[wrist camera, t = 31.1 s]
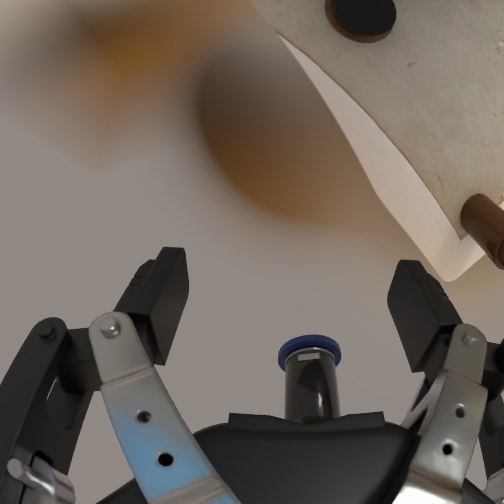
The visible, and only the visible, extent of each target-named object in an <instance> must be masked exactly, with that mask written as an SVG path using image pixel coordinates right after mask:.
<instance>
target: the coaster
mask: <svg viewBox="0 0 504 504" xmlns="http://www.w3.org/2000/svg"><path fill="white" fill-rule="evenodd" d="M331 5H332V0H326V2H325V11H326V15H327V18H328V20H329V22H330V23H331V25H332V26H333V27H334V29H335V30H336V31H338V32H339V33H340V34H341V35H343V36H344V37H346V38H348V39H350V40H353V41H356V42H361V43H372V42H376V41H379V40H381V39H383V38H385V37H386V36H387V35H388V34H389V33H390V31H391V29H392V28H391V29H390V30H389V31H387V32H386V33H384V34H381V35H376V36H371V37H362V36H357V35H354V34H352V33H349V32H348V31H346V30H345V29H343V28H342V27H341V26H340V25H339V24H338V23H337V21H336V20H335V18H334V16H333V13H332V8H331Z"/></svg>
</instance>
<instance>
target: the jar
mask: <svg viewBox="0 0 504 504" xmlns="http://www.w3.org/2000/svg"><path fill="white" fill-rule="evenodd" d="M461 224H462V227H463V228H464V229H465V230H466V232H467V233H468V234H469V235H470V236H471V237H472V238H473V239H474V240H475V241H476V242H477V244H478V245H479V246H480V247H481V248H482V249H483V250H484V252H485V253H486V254H487V255H488V256H489V258H490V259H491V260H492V261H493V262H494V263H495V265H496V266H497V267H498V268H499V269H502V270H504V210H503V209H502V208H500V207H499V206H498V205H497V204H496V203H494V202H493V201H492V200H491V199H489V198H488V197H487V196H485V195H483V194H476V195H474V196H472V197H471V198H469V199H468V200H467V202H466V203H465V205H464V206H463V209H462V212H461Z"/></svg>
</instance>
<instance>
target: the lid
mask: <svg viewBox="0 0 504 504" xmlns="http://www.w3.org/2000/svg"><path fill="white" fill-rule="evenodd" d="M331 8H332V13H333V16H334V18H335V20H336V21H337V23H338V24H339V25H340V26H341V27H342V28H343V29H345V30H346V31H348V32H349V33H352V34H354V35H357V36H362V37H371V36H376V35H381V34H384V33H386V32H387V31H389V30H390V29H391V28H392V27H393V25H394V23H395V20H396V8H395V5H394V2H393V1H392V0H332V5H331Z"/></svg>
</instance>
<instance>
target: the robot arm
mask: <svg viewBox="0 0 504 504" xmlns="http://www.w3.org/2000/svg"><path fill="white" fill-rule="evenodd" d="M188 294H189V279H188V271H187V263H186V254H185V250H184V248H176V247H163V248H162V250H161V251H160V253H159V255H158V256H157V258H156V260H151V259H150V260H148V261H147V262H146V263H144V264H143V265H141V266H140V267H139V269H138V270H137V272H136V273H135V275H134V278H132V280H131V282H130V283H129V286H128V287H127V288H126V290H125V292H124V293H123V295H122V297H121V298H120V300H119V302H118V303H117V305H116V307H115V309H114V310H113V312H108V313H104V314H102V315H101V316H99V317H97V318H96V319H95V320H94V321H93V322H92V323H91V325H90V327H89V328H81V329H70V330H68V329H67V327H66V325H65V323H64V321H63V320H61V319H59V318H55V317H52V318H46V319H44V320H42V321H40V322H39V323H37V324H36V325H35V326H34V327H33V329H32V330H31V332H30V333H29V335H28V337H27V339H26V340H25V341H24V343H23V345H22V347H21V348H20V350H19V352H18V353H17V355H16V357H15V359H14V360H13V362H12V364H11V366H10V368H9V370H8V372H7V373H6V375H5V377H4V379H3V381H2V383H1V385H0V504H75V501H76V498H75V492H74V487H73V485H72V483H71V481H70V480H69V478H68V477H67V475H68V471H69V468H70V464H71V460H72V457H73V453H74V450H75V447H76V443H77V440H78V436H79V434H80V431H81V427H82V424H83V421H84V418H85V415H86V412H87V410H88V407H89V404H90V401H91V398H92V395H93V392H94V391H101V393H102V397H103V400H104V403H105V406H106V408H107V412H108V414H109V417H110V420H111V423H112V425H113V428H114V430H115V433H116V435H117V438H118V440H119V443H120V445H121V448H122V450H123V453H124V455H125V457H126V459H127V462H128V464H129V466H130V468H131V470H132V472H133V474H134V478H133V479H132V480H130V481H129V482H127V483H126V484H125V485H123V486H122V487H120V488H119V489H117V490H116V491H114V492H113V493H111V494H110V495H108V496H107V497H105V498H104V499H103V500H101V501H99V502H98V503H96V504H504V403H503V400H502V397H501V393H502V391H503V390H504V339H503V340H502V342H501V343H500V344H496V343H491V342H487V341H486V338H485V336H484V335H483V333H482V332H481V331H480V330H479V329H478V328H476V327H475V326H472V325H470V324H465V323H463V322H462V320H461V318H460V316H459V315H458V313H457V311H456V309H455V308H454V306H453V304H452V303H451V301H450V300H449V298H448V296H447V295H446V293H445V292H444V290H443V288H442V286H441V285H440V283H439V282H438V281H437V280H436V279H435V278H434V277H433V276H431V275H430V274H429V273H427V271H426V270H425V269H424V267H423V265H422V264H421V262H419V261H418V260H400V261H399V262H398V265H397V268H396V271H395V274H394V277H393V280H392V283H391V286H390V289H389V292H388V297H387V303H388V308H389V310H390V313H391V315H392V318H393V321H394V323H395V326H396V328H397V331H398V334H399V337H400V339H401V342H402V345H403V348H404V350H405V353H406V356H407V359H408V362H409V365H410V367H411V371H412V373H414V372H422V371H424V373H425V376H424V378H423V379H422V381H421V383H420V385H419V388H418V390H417V393H416V395H415V397H414V399H413V402H412V404H411V406H410V408H409V410H408V412H407V414H406V417H405V418H404V420H403V421H402V423H401V424H400V425H397V424H394V423H390V422H385V419H384V414H383V412H382V411H381V412H372V413H360V414H348V415H345V416H341V414H340V404H339V395H338V386H337V376H336V368H335V356H334V354H333V352H332V351H331V350H330V349H328V348H326V347H323V346H317V345H309V346H303V347H300V348H297V349H295V350H293V351H291V352H290V353H289V354H288V355H287V356H286V358H285V419H282V418H278V417H274V416H270V415H253V414H239V413H238V414H237V413H229V420H228V423H221V424H217V425H213V426H209V427H207V428H204V429H201V430H200V431H197V432H195V433H193V434H192V433H191V432H190V430H189V428H188V427H187V425H186V423H185V422H184V420H183V418H182V417H181V415H180V413H179V411H178V410H177V408H176V406H175V404H174V402H173V401H172V399H171V397H170V395H169V393H168V391H167V390H166V388H165V386H164V384H163V382H162V380H161V378H160V376H159V374H158V372H157V371H156V369H155V367H154V364H156V365H163V366H165V363H166V360H167V357H168V354H169V351H170V348H171V345H172V342H173V339H174V336H175V333H176V330H177V327H178V324H179V321H180V319H181V316H182V312H183V310H184V307H185V304H186V301H187V298H188ZM54 380H56V381H55V383H54ZM53 383H54V385H53V388H52V390H51V392H50V389H51V387H52V384H53ZM49 392H50V395H49V397H48V399H47V396H48V394H49ZM477 438H479V442H480V446H481V451H482V456H483V460H484V465H485V471H486V476H487V481H488V482H487V485H486V488H485V489H484V490H482V491H481V490H480V489H478V488H477V487H476V486H475V485H474V484H472V483H471V482H470V481H469V480H468V479H467V478H465V475H466V472H467V469H468V467H469V464H470V461H471V458H472V455H473V452H474V448H475V445H476V442H477Z"/></svg>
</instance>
